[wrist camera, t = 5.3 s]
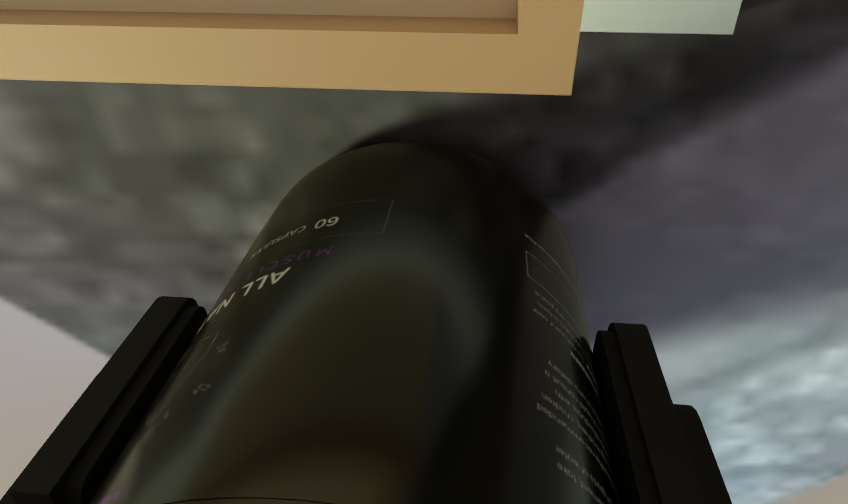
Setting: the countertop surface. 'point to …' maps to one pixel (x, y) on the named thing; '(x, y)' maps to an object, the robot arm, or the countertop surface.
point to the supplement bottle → (386, 352)
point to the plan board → (331, 41)
